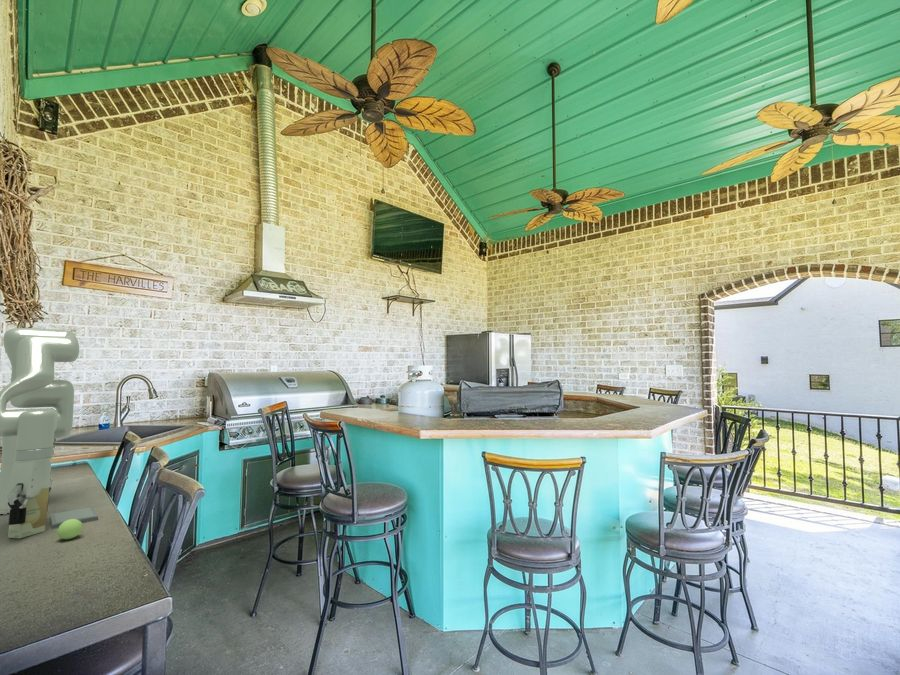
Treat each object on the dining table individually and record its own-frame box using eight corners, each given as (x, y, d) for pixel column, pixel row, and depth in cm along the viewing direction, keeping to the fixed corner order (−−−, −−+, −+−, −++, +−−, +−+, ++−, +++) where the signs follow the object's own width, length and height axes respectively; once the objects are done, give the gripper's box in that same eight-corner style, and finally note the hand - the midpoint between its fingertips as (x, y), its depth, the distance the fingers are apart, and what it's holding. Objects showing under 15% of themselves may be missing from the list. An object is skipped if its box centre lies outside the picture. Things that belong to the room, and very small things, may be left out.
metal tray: (49, 517, 129) (50, 513, 129) (92, 509, 136) (92, 506, 136) (52, 528, 119) (52, 524, 119) (97, 519, 126) (98, 515, 127)
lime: (63, 536, 113) (64, 517, 113) (85, 534, 114) (86, 515, 115) (52, 543, 108) (53, 523, 109) (75, 541, 110) (77, 521, 110)
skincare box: (19, 539, 111) (23, 492, 112) (6, 538, 112) (11, 491, 113) (46, 530, 118) (50, 486, 119) (34, 529, 118) (38, 485, 120)
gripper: (36, 451, 124) (31, 510, 122) (-6, 461, 108) (-12, 530, 106) (67, 449, 126) (63, 508, 124) (31, 459, 110) (25, 526, 108)
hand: (28, 518), depth 115 cm, fingers open, 9 cm apart
